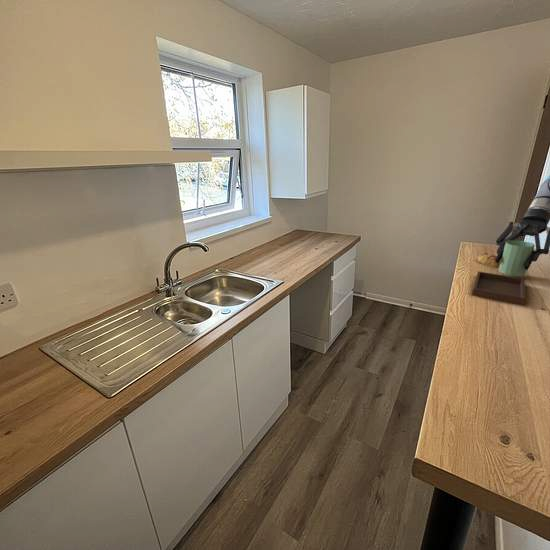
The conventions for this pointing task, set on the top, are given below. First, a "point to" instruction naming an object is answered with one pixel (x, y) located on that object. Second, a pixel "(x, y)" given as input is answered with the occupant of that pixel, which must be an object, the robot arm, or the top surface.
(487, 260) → the pastry
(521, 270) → the cup
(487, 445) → the top surface
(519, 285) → the tray
